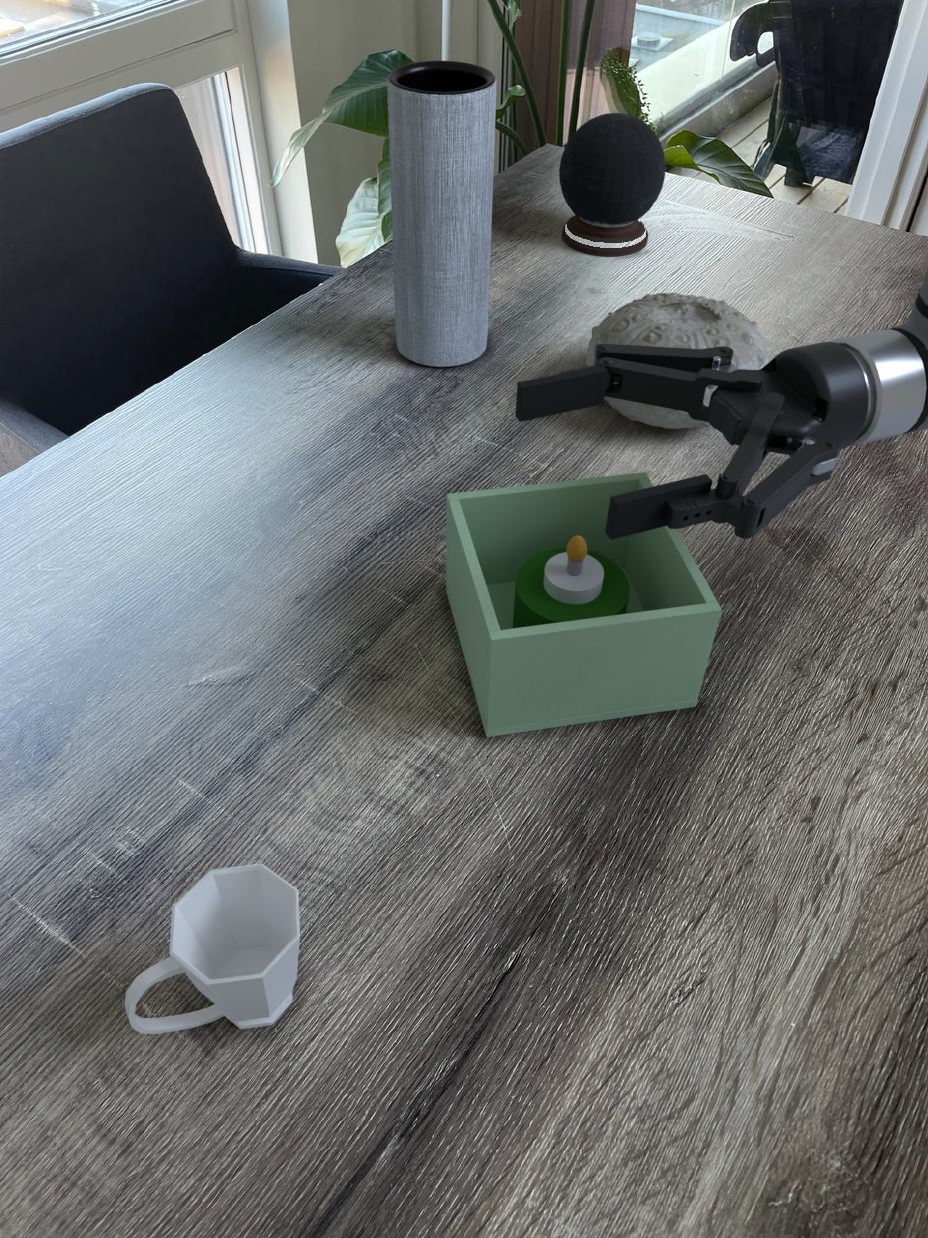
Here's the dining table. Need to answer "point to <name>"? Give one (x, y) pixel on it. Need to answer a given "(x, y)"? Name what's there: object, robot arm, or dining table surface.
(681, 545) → the bin
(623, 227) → the black ball on stand
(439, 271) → the vase
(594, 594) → the candle
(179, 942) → the cup
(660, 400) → the robot arm
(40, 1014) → the dining table surface
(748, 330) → the decorative shell
